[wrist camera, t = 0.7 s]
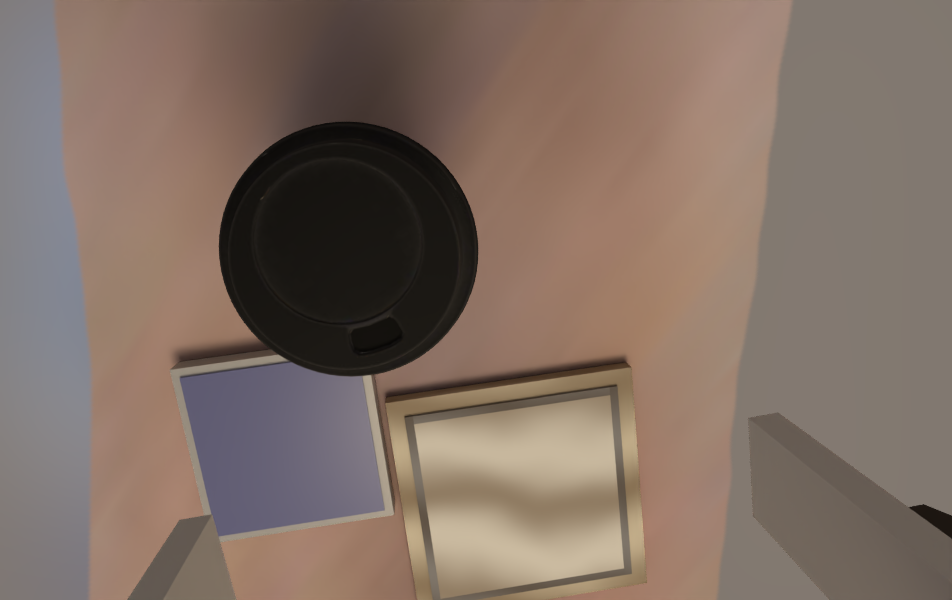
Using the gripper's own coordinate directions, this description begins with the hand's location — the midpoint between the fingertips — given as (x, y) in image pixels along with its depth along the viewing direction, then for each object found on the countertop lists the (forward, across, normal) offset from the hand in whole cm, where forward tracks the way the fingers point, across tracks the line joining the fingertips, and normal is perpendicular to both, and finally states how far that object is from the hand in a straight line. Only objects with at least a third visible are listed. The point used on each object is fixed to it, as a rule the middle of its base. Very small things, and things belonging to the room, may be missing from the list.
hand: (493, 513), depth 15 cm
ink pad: (+23, -11, -7) cm, 26 cm away
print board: (+22, +2, -13) cm, 26 cm away
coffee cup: (+23, -4, +5) cm, 24 cm away
